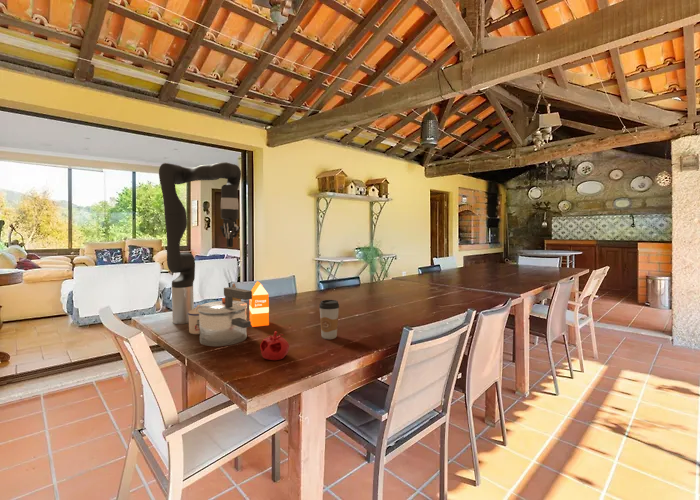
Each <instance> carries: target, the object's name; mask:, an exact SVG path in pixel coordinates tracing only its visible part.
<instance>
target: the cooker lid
mask: <svg viewBox="0 0 700 500" xmlns="http://www.w3.org/2000/svg"><path fill="white" fill-rule="evenodd" d="M223 296H224V297H222V298H221V300H219V301H212V302H211V301H209V302H206V303H203V304H199V305H200V306H199V307H198V312H199V313H202V314H208V315H223V314H232V313H237V312H241V311H244V310H246V311H247V308H248V303H247V302H245V301H249V299H252V291H251V290H248V289H243V288H238V287H236V288H233V287H232V286H229V287H228V286H227V287H223ZM232 297H233V298H238V299H241V301H232Z"/></svg>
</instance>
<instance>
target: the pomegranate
mask: <svg viewBox="0 0 700 500" xmlns="http://www.w3.org/2000/svg"><path fill="white" fill-rule="evenodd" d="M277 334H278V331H277V330H275V331H274V333H273V335H270V334H268V335H266V337H265V338H263V339H262V341H261V342H260V344H259V349H260V353H261V356H262V358H263V359H265V360H269V361H278V360H283V359H285V357H286V356H287V355H288V353H289V350H290V344H289V342H288V341H287V340H286V339H285V337H282V336H284V333H283V334H279V335H277Z"/></svg>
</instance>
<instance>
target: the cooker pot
mask: <svg viewBox="0 0 700 500" xmlns="http://www.w3.org/2000/svg"><path fill="white" fill-rule="evenodd" d="M199 325H200V334H199V343H200V344H201V345H204V346H206V347H207V346H208V347H222V346H223V347H225V346H231V345H235V344H239V343H241V342H244V341H245V340H246V339H247V337H248V336H247V332H248V331H247V328H251V327H252V325H251V321H250V320H247V309H246V310H244V311H241V312H237V313H232V314H223V315H208V314H202V313H199Z"/></svg>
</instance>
